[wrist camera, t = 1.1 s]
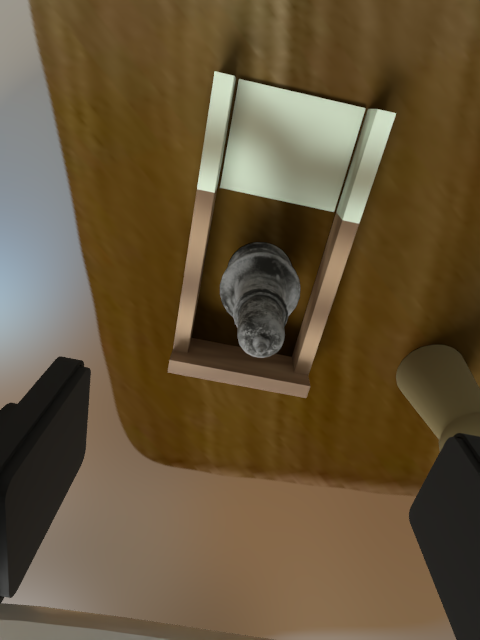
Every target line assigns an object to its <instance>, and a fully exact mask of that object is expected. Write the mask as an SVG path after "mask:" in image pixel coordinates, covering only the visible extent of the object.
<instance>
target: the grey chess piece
mask: <svg viewBox="0 0 480 640" xmlns="http://www.w3.org/2000/svg"><path fill="white" fill-rule="evenodd" d="M220 297H221V300H222V304H223V305H224V307H225V309H226V310H227V312H228V313H229V314H230V315H231V316H232V317H233V318H234V322H235V324H236V326H237V327H238V331H237V338H238V341H239V344H240V346H241V348H242V349H243V350H244V351H245V352H246V353H247V354H249V355H251V356H254V357H257V358H265V357H269V356H272V355H274V354H275V353H277V352H278V351H279V350H280V348H281V347H282V345H283V342H284V338H285V331H284V327H285V325H286V322H287V320H288V316H289V315H290V314H291V313H292V311H293V310H294V309H295V307H296V305H297V303H298V300H299V298H300V282H299V278H298V276H297V274H296V272H295V270H294V268H293V267H292V266H291V262H290V260H289V258H288V256H287V255H286V254H285V253H284V252H283V251H282V250H281V249H280V248H278V247H277V246H275V245H272V244H269V243H266V242H255V243H251V244H247V245H245V246H243V247H241V248H240V249H239V250H238V251H236V252H235V253H234V254H233V256H232V258H231V259H230V261H229V264H228V267H227V269H226V271H225V273H224V274H223V276H222V280H221V283H220Z"/></svg>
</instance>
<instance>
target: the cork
mask: <svg viewBox="0 0 480 640" xmlns="http://www.w3.org/2000/svg"><path fill="white" fill-rule="evenodd" d="M396 380H397V385H398V387H399V389H400V390H401V392H402V393H403V394H404V396H405V397H406V398H407V399H408V401H409V402H410V403H411V404H412V406H413V407H414V408H415V410H416V411H417V412H418V413H419V415H420V416H421V417H422V418H423V420H424V421H425V422H426V424H427V425H428V426H429V427H430V429H431V430H432V431H433V432H434V434H435V435H436V436H437V438H438V439H439V449H440V451H441V449H442V448H443V446H444V444H445V442H446V440H447V439H448V438H449V437H453V436H454V435H455V434H457V433H464V434H469V435H474V436H479V437H480V388H479V387H478V385H477V383H476V381H475V379H474V377H473V375H472V374H471V372H470V370H469V368H468V366H467V364H466V362H465V361H464V359H463V357H462V355H461V354H460V353H459V352H458V351H457V350H455V349H454V348H452V347H449V346H446V345H429V346H424V347H421V348H419V349H417V350H415V351H413V352H411V353H410V354H409V355H408V356H407V357H406V358H404V359H403V361H402V362H401V364H400V365H399V367H398V370H397V374H396Z"/></svg>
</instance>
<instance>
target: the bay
mask: <svg viewBox="0 0 480 640" xmlns="http://www.w3.org/2000/svg"><path fill="white" fill-rule="evenodd" d="M235 82H236V77H235V76H233V75H229V74H225V73H220V72H216V71H215V73H214V80H213V86H212V93H211V100H210V106H209V113H208V120H207V126H206V133H205V140H204V146H203V153H202V160H201V166H200V173H199V179H198V186H197V193H196V199H195V206H194V213H193V219H192V226H191V233H190V239H189V246H188V253H187V259H186V266H185V273H184V279H183V286H182V293H181V299H180V306H179V313H178V319H177V326H176V333H175V339H174V346H173V351H172V354H171V357H170V360H169V367H168V372H169V373H174V374H179V375H185V376H190V377H195V378H201V379H206V380H212V381H217V382H222V383H228V384H233V385H238V386H244V387H249V388H255V389H260V390H265V391H271V392H276V393H282V394H287V395H292V396H298V397H303V398H306V397H307V394H308V391H309V388H310V383H309V378H308V374H309V372H310V369H311V366H312V363H313V360H314V357H315V354H316V351H317V348H318V345H319V342H320V339H321V336H322V333H323V330H324V327H325V324H326V321H327V318H328V315H329V312H330V309H331V306H332V303H333V300H334V297H335V294H336V291H337V288H338V285H339V282H340V279H341V276H342V273H343V270H344V267H345V264H346V261H347V258H348V255H349V252H350V250H351V247H352V244H353V241H354V238H355V235H356V232H357V229H358V226H359V223H360V220H361V217H362V214H363V211H364V208H365V205H366V202H367V199H368V196H369V193H370V190H371V187H372V184H373V181H374V178H375V175H376V172H377V169H378V166H379V163H380V160H381V157H382V154H383V151H384V148H385V145H386V142H387V139H388V136H389V133H390V130H391V128H392V125H393V122H394V119H395V116H396V113H393V112H388V111H384V110H380V109H368V110H367V113H366V117H365V120H364V123H363V126H362V130H361V133H360V136H359V139H358V143H357V146H356V149H355V153H354V156H353V159H352V162H351V166H350V169H349V172H348V175H347V179H346V182H345V185H344V188H343V192H342V195H341V198H340V201H339V205H338V208H337V211H336V215H335V218H334V221H333V224H332V228H331V231H330V234H329V237H328V241H327V244H326V247H325V250H324V254H323V257H322V260H321V263H320V267H319V270H318V273H317V276H316V280H315V283H314V286H313V290H312V293H311V296H310V299H309V303H308V306H307V309H306V312H305V316H304V319H303V322H302V325H301V329H300V332H299V335H298V338H297V342H296V345H295V348H294V351H293V355H292V357H289V356H284V355H279V354H274V355H272V356H269V357H265V358H257V357H254V356H251V355H249V354H247V353H246V352H245V351H244V350H243V349H242V348H241V347H237V346H232V345H227V344H222V343H216V342H211V341H206V340H201V339H196V338H192V332H193V326H194V321H195V315H196V309H197V303H198V297H199V291H200V286H201V280H202V274H203V268H204V262H205V257H206V251H207V245H208V239H209V233H210V227H211V222H212V216H213V210H214V204H215V198H216V192H217V187H218V181H219V175H220V169H221V163H222V157H223V152H224V146H225V140H226V134H227V128H228V122H229V117H230V111H231V105H232V99H233V93H234V88H235ZM365 109H366V108H363V107H358V106H354V105H350V104H345V103H341V102H337V101H332V100H328V99H324V98H319V97H315V96H311V95H306V94H302V93H298V92H294V91H289V90H285V89H281V88H276V87H272V86H268V85H263V84H259V83H255V82H250V81H246V80H242V79H239V81H238V87H237V93H236V99H235V104H234V110H233V116H232V122H231V127H230V133H229V139H228V144H227V150H226V156H225V162H224V167H223V173H222V179H221V185H220V188H224V189H229V190H233V191H238V192H243V193H247V194H252V195H257V196H261V197H266V198H271V199H275V200H280V201H285V202H289V203H294V204H298V205H303V206H308V207H312V208H317V209H322V210H326V211H331V212H334V211H335V208H336V204H337V201H338V198H339V194H340V191H341V188H342V185H343V181H344V178H345V175H346V171H347V168H348V165H349V162H350V158H351V155H352V152H353V148H354V145H355V142H356V139H357V135H358V132H359V129H360V125H361V122H362V119H363V116H364V112H365Z"/></svg>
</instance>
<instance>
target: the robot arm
mask: <svg viewBox="0 0 480 640" xmlns="http://www.w3.org/2000/svg"><path fill="white" fill-rule="evenodd" d="M90 375H91V371H90V368H87V367H84V362H83V361H81V360H76V359H71V358H66V357H58V358H57V359H56V360H55V361H54V362H53V363H52V364H51V366H50V367H49V368H48V369H47V371H45V373H44V374H43V375H42V376H41V378H40V379H39V380H38V381H37V382H36V383H35V384H34V386H33V387H32V388H31V389H30V390H29V391H28V393H27V394H26V395H25V396H24V397H23V398H22V400H21V401H20V402H19V403H18V404H15V403H9V404H7V405H5V406H4V407H3V408H2V409H1V410H0V640H272V639H266V638H259V637H253V636H246V635H239V634H233V633H226V632H219V631H212V630H206V629H199V628H193V627H186V626H180V625H173V624H165V623H159V622H153V621H146V620H139V619H132V618H126V617H118V616H111V615H103V614H95V613H88V612H80V611H72V610H64V609H57V608H49V607H41V606H29V605H16V604H2V603H1V602H2V600H3V598H4V597H9V598H11V597H13V596H14V594H15V593H16V591H17V589H18V588H19V586H20V584H21V582H22V580H23V578H24V576H25V574H26V572H27V570H28V568H29V566H30V564H31V562H32V560H33V558H34V556H35V554H36V552H37V550H38V548H39V546H40V544H41V543H42V540H43V539H44V537H45V535H46V533H47V531H48V529H49V527H50V525H51V523H52V521H53V519H54V517H55V515H56V513H57V511H58V509H59V507H60V505H61V504H62V502H63V500H64V498H65V496H66V494H67V492H68V490H69V488H70V486H71V484H72V482H73V480H74V478H75V476H76V474H77V472H78V470H79V468H80V466H81V464H82V462H83V459H84V454H85V450H86V434H87V420H88V405H89V388H90ZM409 519H410V524H411V526H412V529H413V531H414V534H415V536H416V538H417V541H418V544H419V546H420V549H421V551H422V554H423V556H424V559H425V561H426V564H427V566H428V569H429V571H430V574H431V576H432V579H433V582H434V584H435V587H436V589H437V592H438V594H439V597H440V599H441V602H442V604H443V607H444V609H445V612H446V614H447V617H448V619H449V622H450V624H451V627H452V629H453V632H454V634H455V637H456V639H457V640H480V437H479V436H474V435H469V434H464V433H457V434H455V435H454V436H453V437H449V438H448V439H447V440H446V442H445V444H444V446H443V448H442V449H441V451H440V453H439V455H438V457H437V459H436V461H435V463H434V465H433V466H432V468H431V470H430V472H429V474H428V476H427V478H426V480H425V481H424V483H423V485H422V487H421V489H420V491H419V493H418V495H417V496H416V498H415V500H414V502H413V504H412V506H411V508H410V512H409Z"/></svg>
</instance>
